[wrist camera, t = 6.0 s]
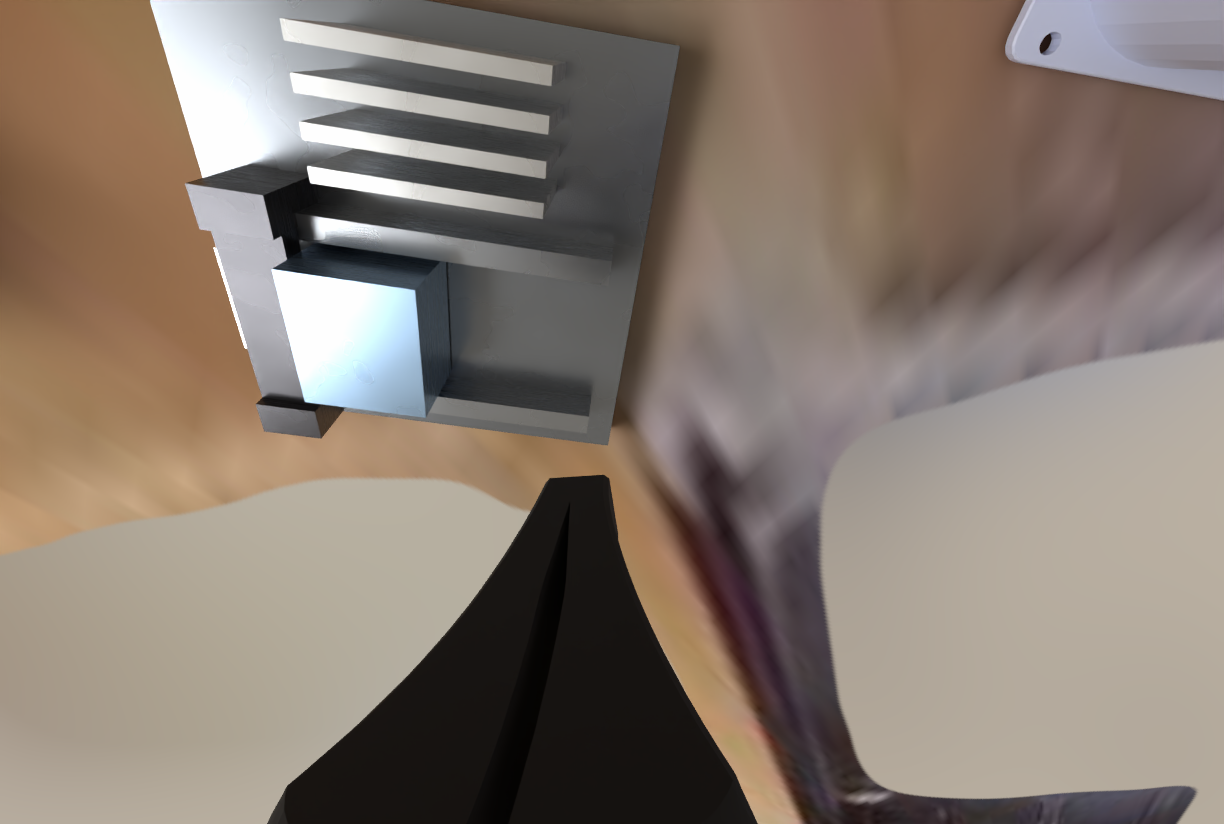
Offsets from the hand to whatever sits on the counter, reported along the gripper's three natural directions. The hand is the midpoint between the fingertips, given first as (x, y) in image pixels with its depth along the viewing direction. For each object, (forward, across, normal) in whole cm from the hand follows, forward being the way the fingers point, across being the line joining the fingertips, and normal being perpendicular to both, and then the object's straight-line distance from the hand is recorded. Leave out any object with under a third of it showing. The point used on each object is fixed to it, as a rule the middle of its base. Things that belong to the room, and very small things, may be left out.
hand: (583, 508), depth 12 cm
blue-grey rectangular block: (+9, +9, -2) cm, 12 cm away
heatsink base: (+10, +5, -3) cm, 12 cm away
